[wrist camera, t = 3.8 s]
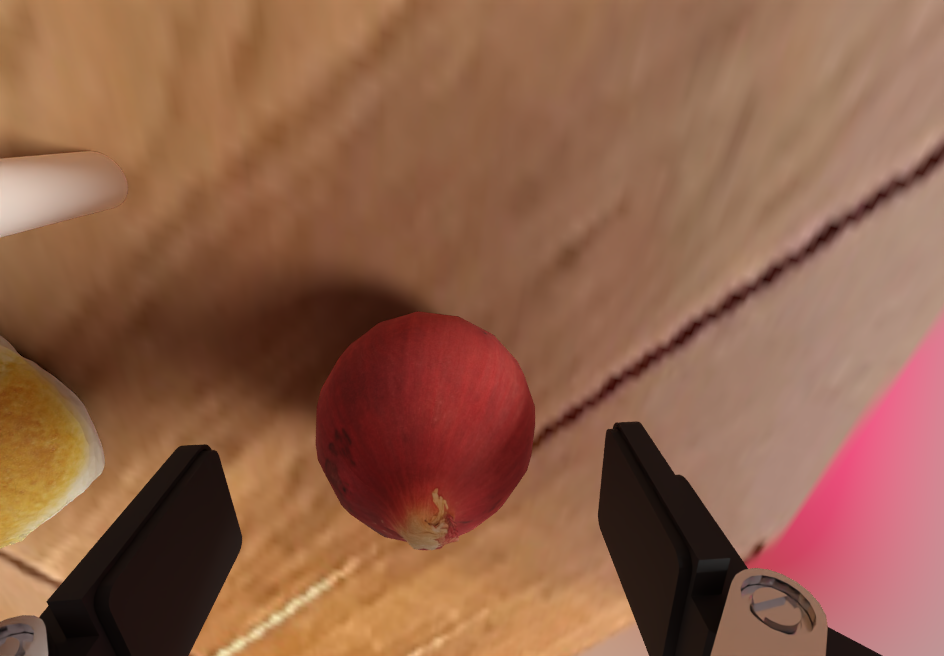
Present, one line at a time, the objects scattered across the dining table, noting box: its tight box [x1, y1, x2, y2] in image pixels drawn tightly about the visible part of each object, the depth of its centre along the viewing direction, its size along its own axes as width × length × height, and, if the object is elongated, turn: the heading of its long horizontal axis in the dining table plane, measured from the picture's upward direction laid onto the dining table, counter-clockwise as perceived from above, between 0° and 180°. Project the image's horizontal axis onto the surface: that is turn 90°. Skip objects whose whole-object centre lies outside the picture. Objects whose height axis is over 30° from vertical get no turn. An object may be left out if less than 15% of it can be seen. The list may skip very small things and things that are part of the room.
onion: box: [316, 312, 535, 550], centre depth 13 cm, size 6×6×8 cm
